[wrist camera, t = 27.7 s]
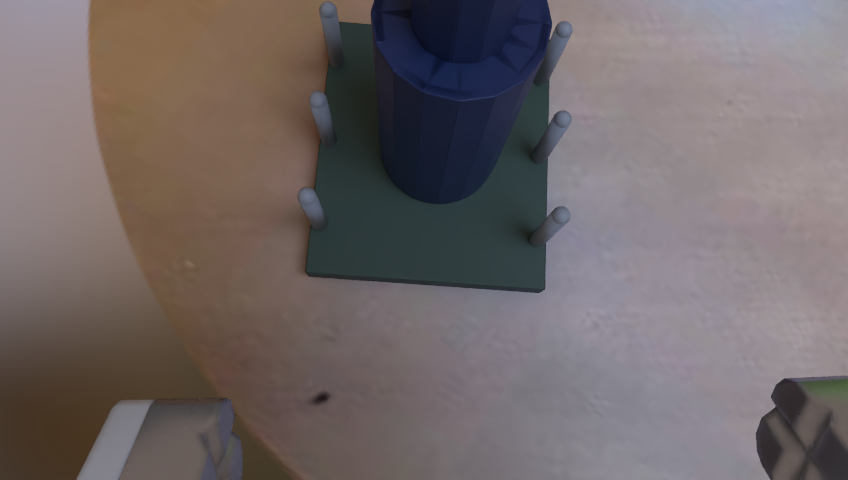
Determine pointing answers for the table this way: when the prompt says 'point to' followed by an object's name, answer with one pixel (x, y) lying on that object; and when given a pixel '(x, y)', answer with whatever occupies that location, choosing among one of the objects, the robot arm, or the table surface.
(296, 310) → the table surface
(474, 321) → the table surface
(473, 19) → the bottle
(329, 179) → the rack
